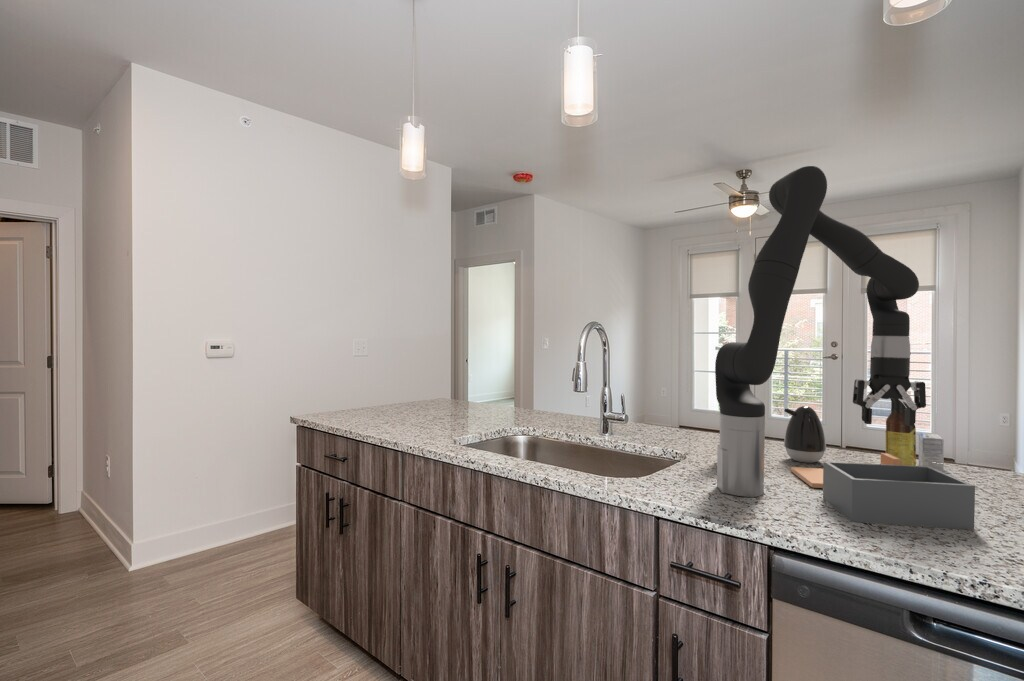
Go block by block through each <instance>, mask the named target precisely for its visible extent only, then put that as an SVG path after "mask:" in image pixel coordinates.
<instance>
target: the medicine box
mask: <svg viewBox="0 0 1024 681" xmlns="http://www.w3.org/2000/svg"><path fill="white" fill-rule="evenodd" d="M944 442H945V441H944V439H943V438H942V437H941V436H940V435H939V434H936V433H923V432H922V433H921V432H920V433H919V434H918V466H928V467H932V468H934V469H936V470H939V471H941V472H943V473H945V471H944V468H945V467H944V464H945V463H944V452H945V451H944V450H945V449H944V448H945V446H944V444H945V443H944ZM932 462H936V463H932ZM937 463H943V464H937Z"/></svg>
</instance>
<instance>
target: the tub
mask: <svg viewBox="0 0 1024 681" xmlns="http://www.w3.org/2000/svg"><path fill="white" fill-rule="evenodd" d="M822 464H823V466H822V469H823V488H822V499H823V500H824V501H825V502H826V503H828V504H829V505H831V506H832V507H833V509H835V510H837V511H838V512H839V513H840V514H842V515H843V516H844V517H845V518H846V519H848V520H849V521H850V522H852V523H865V524H881V525H893V526H894V525H895V526H896V525H897V526H907V527H908V526H911V527H921V528H922V527H923V528H926V527H927V528H939V529H940V528H941V529H942V528H943V529H953V530H968V531H969V530H971V531H975V514H976V513H975V509H976V507H975V505H976V504H975V502H976V485H974V484H971V483H970V482H967V481H964V480H963V479H960V478H957V477H954V476H953V475H951V474H948V473H946V472H941V471H939V470H936V469H934V468H932V467H928V466H920V465H916V466H908V465H887V464H881V463H866V462H865V463H864V462H863V463H861V462H842V461H823V463H822Z"/></svg>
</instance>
